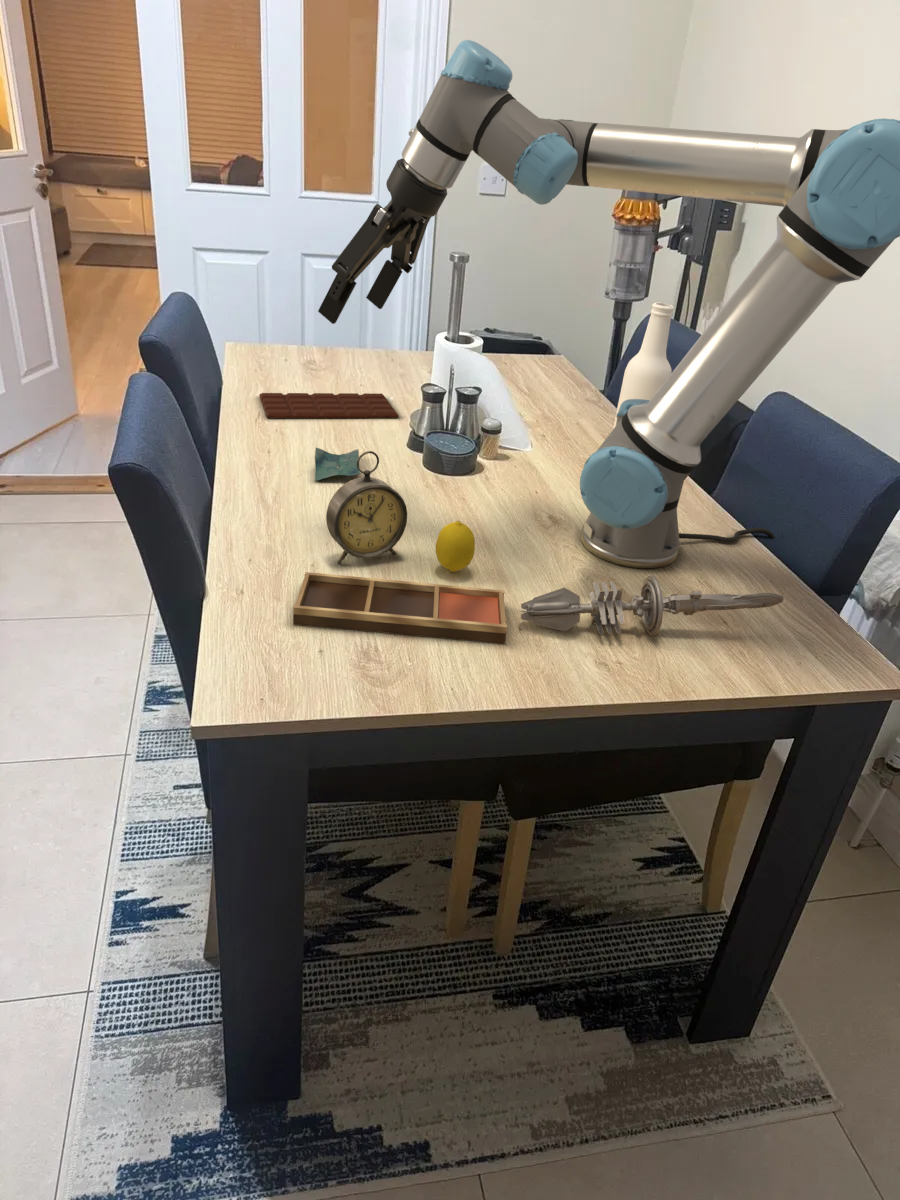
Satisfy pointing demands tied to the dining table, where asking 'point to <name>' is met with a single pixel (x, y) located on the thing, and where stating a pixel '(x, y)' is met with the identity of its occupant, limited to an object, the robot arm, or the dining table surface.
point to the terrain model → (335, 464)
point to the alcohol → (649, 359)
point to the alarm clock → (366, 516)
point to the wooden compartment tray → (401, 607)
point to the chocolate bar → (327, 405)
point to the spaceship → (632, 606)
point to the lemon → (455, 546)
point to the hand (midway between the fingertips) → (351, 310)
